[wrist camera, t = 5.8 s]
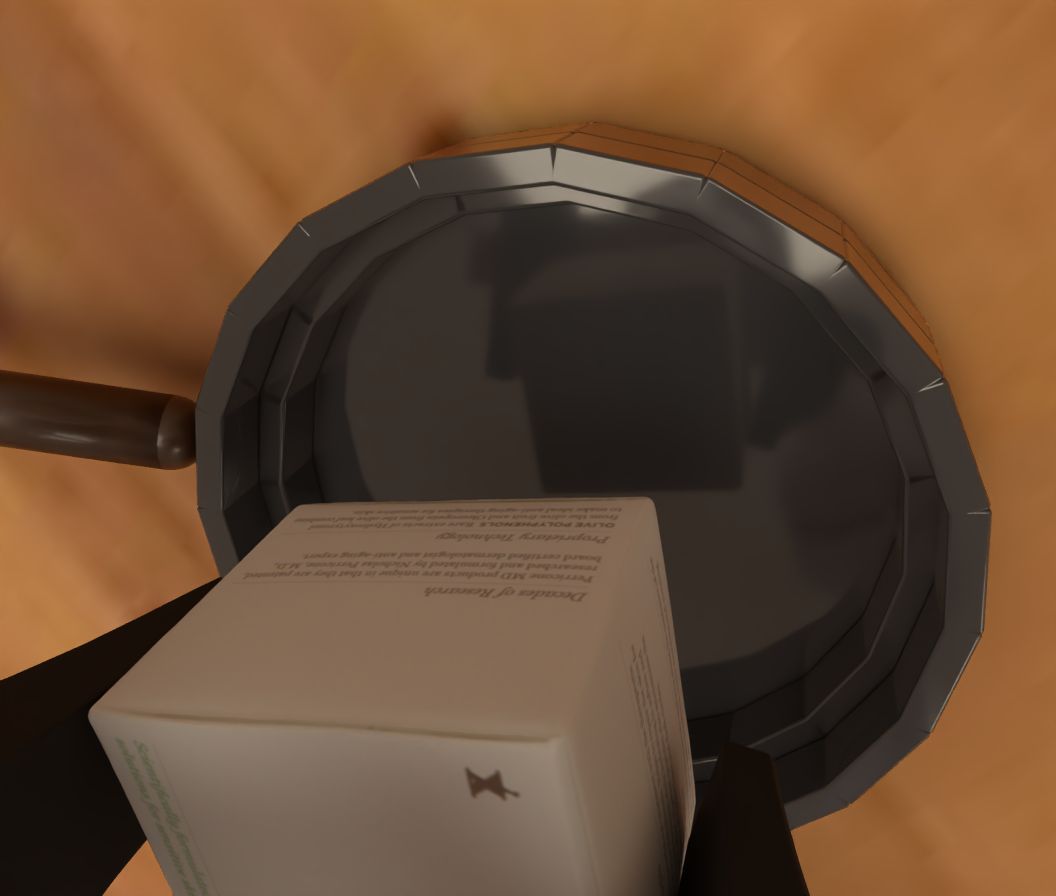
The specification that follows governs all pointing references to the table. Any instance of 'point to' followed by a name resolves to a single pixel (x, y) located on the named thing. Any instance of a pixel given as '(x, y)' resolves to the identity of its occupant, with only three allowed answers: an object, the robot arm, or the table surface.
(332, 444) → the pan
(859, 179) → the table surface
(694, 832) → the robot arm
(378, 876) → the small box
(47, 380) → the pan handle
